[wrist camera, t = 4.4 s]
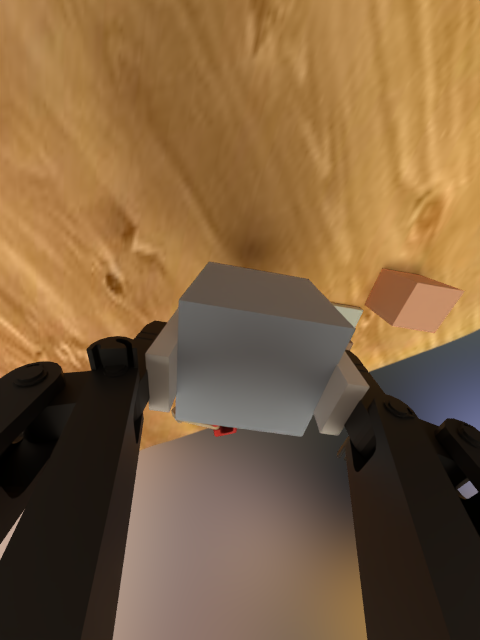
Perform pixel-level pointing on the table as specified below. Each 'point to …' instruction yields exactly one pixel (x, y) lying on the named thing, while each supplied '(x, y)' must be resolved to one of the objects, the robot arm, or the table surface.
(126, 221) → the table surface
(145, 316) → the table surface
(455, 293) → the terracotta brick
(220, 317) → the slate brick
